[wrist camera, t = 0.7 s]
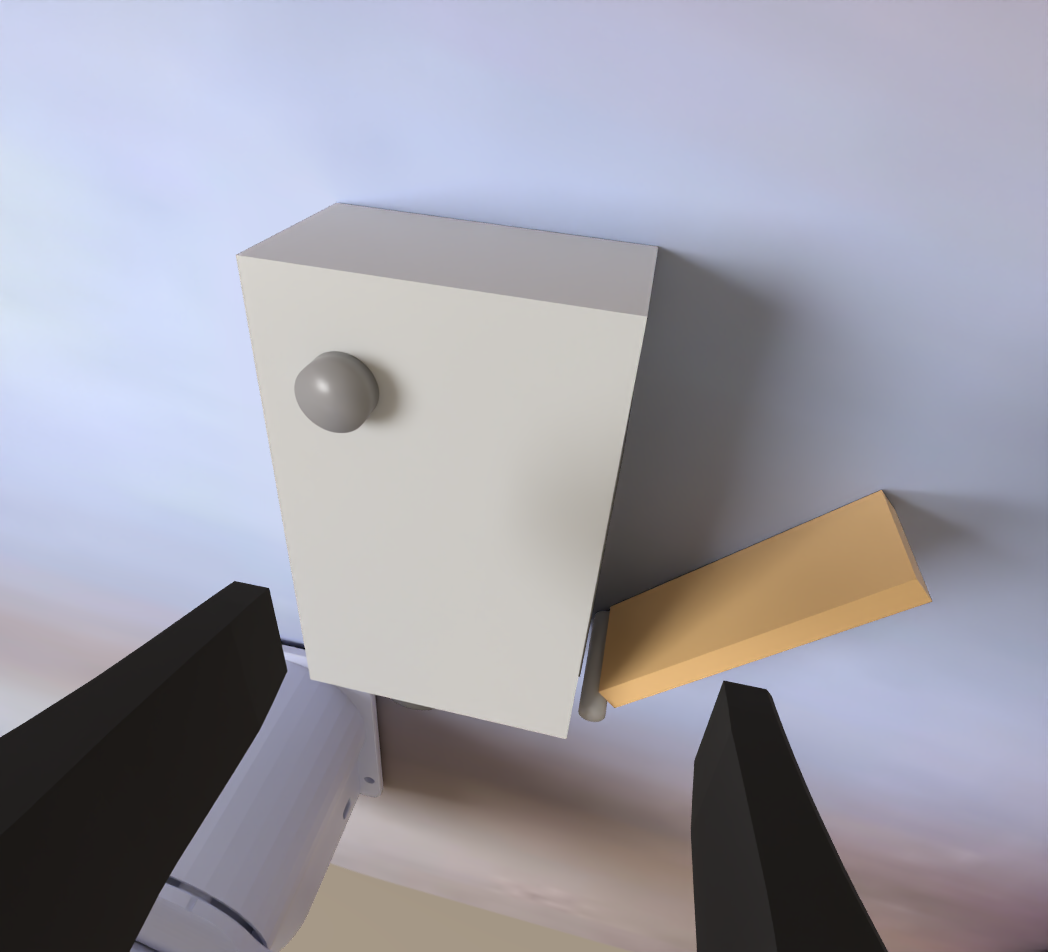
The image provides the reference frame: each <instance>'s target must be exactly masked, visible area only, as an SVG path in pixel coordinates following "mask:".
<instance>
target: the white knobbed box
mask: <svg viewBox="0 0 1048 952" xmlns="http://www.w3.org/2000/svg"><path fill="white" fill-rule="evenodd" d="M657 252H658V247H657V246H650V245H642V244H635V243H628V242H621V241H613V240H606V239H599V238H591V237H584V236H577V235H569V234H562V233H555V232H547V231H540V230H533V229H525V228H518V227H511V226H503V225H496V224H489V223H481V222H474V221H467V220H459V219H452V218H445V217H437V216H430V215H423V214H415V213H408V212H401V211H393V210H386V209H379V208H371V207H364V206H357V205H349V204H342V203H335V204H333V205H331V206H329V207H327V208H325V209H323V210H321V211H319V212H318V213H316V214H314V215H312V216H310V217H308V218H306V219H304V220H302V221H300V222H298V223H296V224H294V225H293V226H291V227H289V228H287V229H285V230H283V231H281V232H279V233H277V234H275V235H273V236H271V237H269V238H268V239H266V240H264V241H262V242H260V243H258V244H256V245H254V246H252V247H250V248H248V249H246V250H245V251H243V252H241V253H239V254H237V255H236V259H237V264H238V270H239V276H240V281H241V287H242V293H243V298H244V304H245V310H246V316H247V321H248V327H249V333H250V338H251V344H252V350H253V355H254V361H255V367H256V373H257V378H258V384H259V390H260V395H261V401H262V407H263V412H264V418H265V424H266V429H267V435H268V441H269V447H270V452H271V458H272V464H273V469H274V475H275V481H276V486H277V492H278V498H279V504H280V509H281V515H282V521H283V526H284V532H285V538H286V543H287V549H288V555H289V560H290V566H291V572H292V578H293V583H294V589H295V595H296V600H297V606H298V612H299V617H300V623H301V629H302V635H303V640H304V646H305V652H306V657H307V663H308V669H309V674H310V679H311V680H315V681H319V682H324V683H328V684H332V685H336V686H341V687H345V688H349V689H354V690H358V691H362V692H366V693H371V694H375V695H379V696H384V697H388V698H391V699H392V700H393V701H395V702H396V703H398V704H400V705H402V706H404V707H407V708H411V709H416V710H432V709H439V710H444V711H448V712H452V713H456V714H461V715H465V716H469V717H474V718H478V719H482V720H486V721H491V722H495V723H499V724H504V725H508V726H512V727H516V728H521V729H525V730H529V731H534V732H538V733H542V734H546V735H551V736H555V737H559V738H564V739H566V738H567V733H568V728H569V722H570V717H571V712H572V707H573V702H574V696H575V691H576V686H577V681H578V677H580V674H581V668H582V663H583V658H584V653H585V648H586V643H587V638H588V632H589V627H590V622H591V617H592V612H593V607H594V602H595V596H596V591H597V586H598V581H599V576H600V571H601V565H602V560H603V555H604V550H605V545H606V540H607V535H608V529H609V524H610V519H611V514H612V509H613V504H614V499H615V493H616V488H617V483H618V478H619V473H620V468H621V463H622V457H623V452H624V447H625V441H626V435H627V428H628V422H629V416H630V410H631V404H632V398H633V389H634V384H635V379H636V374H637V368H638V363H639V358H640V353H641V348H642V342H643V337H644V332H645V327H646V322H647V316H648V310H649V303H650V297H651V291H652V284H653V278H654V271H655V265H656V259H657Z"/></svg>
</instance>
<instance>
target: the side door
mask: <svg viewBox="0 0 1048 952" xmlns="http://www.w3.org/2000/svg"><path fill="white" fill-rule="evenodd" d="M929 602H932V600H931V597H930V595H929V592H928V590H927V587H926V585H925V582H924V580H923V577H922V575H921V572H920V570H919V568H918V565H917V563H916V560H915V558H914V555H913V553H912V550H911V548H910V545H909V543H908V540H907V538H906V536H905V533H904V531H903V528H902V526H901V523H900V521H899V518H898V516H897V513H896V511H895V509H894V508H893V506H892V505H891V503H890V502H889V500H888V499H887V497H886V496H885V494H884V493H883V491H882V490H880V491H878V492H875V493H873V494H871V495H868V496H866V497H864V498H862V499H859V500H857V501H855V502H852V503H850V504H848V505H845V506H843V507H841V508H838V509H836V510H834V511H831V512H829V513H827V514H824V515H822V516H820V517H817V518H815V519H813V520H811V521H808V522H806V523H804V524H801V525H799V526H797V527H794V528H792V529H790V530H787V531H785V532H783V533H780V534H778V535H776V536H773V537H771V538H769V539H766V540H764V541H762V542H760V543H757V544H755V545H753V546H750V547H748V548H746V549H743V550H741V551H739V552H736V553H734V554H732V555H729V556H727V557H725V558H722V559H720V560H718V561H715V562H713V563H711V564H708V565H706V566H704V567H702V568H699V569H697V570H695V571H692V572H690V573H688V574H685V575H683V576H681V577H678V578H676V579H674V580H671V581H669V582H667V583H664V584H662V585H660V586H657V587H655V588H653V589H651V590H648V591H646V592H644V593H641V594H639V595H637V596H634V597H632V598H630V599H627V600H625V601H623V602H620V603H618V604H616V605H613V606H611V607H610V612H608V611H600V612H597V613H596V614H595V616H594V620H593V626H592V632H591V638H590V644H589V650H588V656H587V662H586V668H585V674H584V680H583V686H582V692H581V698H580V704H579V710H578V712H579V715H580V716H581V717H582V718H583V719H585V720H587V721H591V722H599V721H601V720H603V719H604V718H605V714H606V706H607V701H608V702H609V703H610V704H611V705H612V706H613V707H614V708H616V707H619V706H622V705H625V704H628V703H631V702H634V701H637V700H640V699H643V698H646V697H649V696H652V695H655V694H658V693H661V692H664V691H667V690H670V689H673V688H676V687H679V686H682V685H685V684H688V683H691V682H694V681H697V680H700V679H703V678H706V677H709V676H712V675H715V674H718V673H720V672H723V671H726V670H729V669H732V668H735V667H738V666H741V665H744V664H747V663H750V662H753V661H756V660H759V659H762V658H765V657H768V656H771V655H774V654H777V653H780V652H783V651H786V650H789V649H792V648H795V647H798V646H801V645H804V644H807V643H810V642H813V641H816V640H819V639H822V638H825V637H828V636H831V635H834V634H837V633H840V632H843V631H846V630H848V629H851V628H854V627H857V626H860V625H863V624H866V623H869V622H872V621H875V620H878V619H881V618H884V617H887V616H890V615H893V614H896V613H899V612H902V611H905V610H908V609H911V608H914V607H917V606H920V605H923V604H926V603H929Z"/></svg>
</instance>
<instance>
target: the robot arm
mask: <svg viewBox="0 0 1048 952" xmlns="http://www.w3.org/2000/svg"><path fill="white" fill-rule="evenodd" d="M382 790H383V778H382V767H381V755H380V744H379V733H378V721H377V710H376V699H375V694H371V693H366V692H362V691H358V690H354V689H349V688H345V687H341V686H336V685H332V684H328V683H324V682H319V681H315V680H311V679H310V674H309V669H308V663H307V657H306V652H305V650H304V649H300V648H295V647H291V646H287V645H282V643H281V639H280V635H279V630H278V626H277V621H276V617H275V612H274V608H273V603H272V599H271V595H270V590H269V588H266V587H261V586H256V585H251V584H246V583H241V582H236V581H234V582H233V583H231V584H230V585H228V586H227V587H225V588H224V589H222V590H221V591H219V592H218V593H216V594H215V595H214V596H212V597H211V598H209V599H208V600H207V601H205V602H204V603H202V604H201V605H199V606H198V607H197V608H195V609H194V610H192V611H191V612H189V613H188V614H187V615H185V616H184V617H182V618H181V619H180V620H178V621H177V622H175V623H174V624H172V625H171V626H170V627H168V628H167V629H165V630H164V631H162V632H161V633H160V634H158V635H157V636H155V637H154V638H153V639H151V640H150V641H148V642H147V643H145V644H144V645H143V646H141V647H140V648H138V649H137V650H135V651H134V652H132V653H131V654H129V655H128V656H126V657H125V658H123V659H122V660H121V661H119V662H118V663H116V664H115V665H113V666H112V667H110V668H109V669H107V670H106V671H104V672H103V673H102V674H100V675H99V676H97V677H96V678H94V679H93V680H91V681H89V682H88V683H86V684H85V685H83V686H82V687H80V688H78V689H77V690H75V691H74V692H72V693H71V694H69V695H67V696H66V697H64V698H63V699H61V700H60V701H58V702H56V703H55V704H53V705H52V706H50V707H49V708H47V709H45V710H44V711H42V712H41V713H39V714H38V715H36V716H34V717H33V718H31V719H30V720H28V721H27V722H25V723H23V724H22V725H20V726H18V727H17V728H15V729H13V730H12V731H10V732H8V733H7V734H5V735H3V736H2V737H0V952H279V951H281V950H282V949H283V948H284V947H285V946H286V945H287V944H288V943H289V941H290V940H291V939H292V938H293V937H294V936H295V934H296V933H297V931H298V930H299V929H300V927H301V926H302V924H303V922H304V920H305V918H306V917H307V915H308V912H309V910H310V908H311V905H312V903H313V901H314V899H315V896H316V894H317V892H318V889H319V887H320V885H321V882H322V880H323V878H324V875H325V873H326V871H327V868H328V866H329V864H330V861H331V859H332V857H333V854H334V852H335V850H336V847H337V845H338V843H339V841H340V838H341V836H342V834H343V831H344V829H345V827H346V824H347V822H348V820H349V817H350V815H351V813H352V810H353V808H354V806H355V803H356V801H357V799H358V796H359V794H362V795H366V796H370V797H378V796H380V795H381V793H382ZM691 844H692V864H693V884H694V903H695V922H696V941H697V952H888V951H887V949H886V947H885V945H884V943H883V942H882V940H881V938H880V936H879V934H878V932H877V930H876V928H875V926H874V924H873V922H872V921H871V919H870V917H869V915H868V913H867V911H866V909H865V907H864V905H863V903H862V901H861V900H860V898H859V896H858V894H857V892H856V890H855V888H854V886H853V884H852V882H851V880H850V878H849V876H848V874H847V872H846V870H845V868H844V866H843V864H842V861H841V859H840V857H839V855H838V853H837V851H836V849H835V846H834V844H833V842H832V840H831V838H830V836H829V834H828V832H827V829H826V827H825V825H824V823H823V821H822V819H821V817H820V815H819V812H818V810H817V808H816V806H815V803H814V801H813V799H812V797H811V794H810V792H809V790H808V787H807V785H806V783H805V780H804V778H803V776H802V773H801V771H800V769H799V766H798V764H797V761H796V759H795V757H794V754H793V752H792V749H791V747H790V744H789V742H788V739H787V736H786V734H785V731H784V729H783V726H782V723H781V721H780V718H779V715H778V713H777V710H776V707H775V704H774V701H773V698H772V696H771V695H770V693H769V692H768V691H767V690H766V689H762V688H757V687H752V686H747V685H743V684H738V683H733V682H728V681H723V684H722V686H721V689H720V692H719V695H718V697H717V700H716V703H715V706H714V708H713V711H712V714H711V717H710V719H709V722H708V725H707V728H706V730H705V733H704V736H703V739H702V741H701V744H700V747H699V750H698V752H697V755H696V758H695V761H694V779H693V796H692V818H691Z"/></svg>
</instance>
